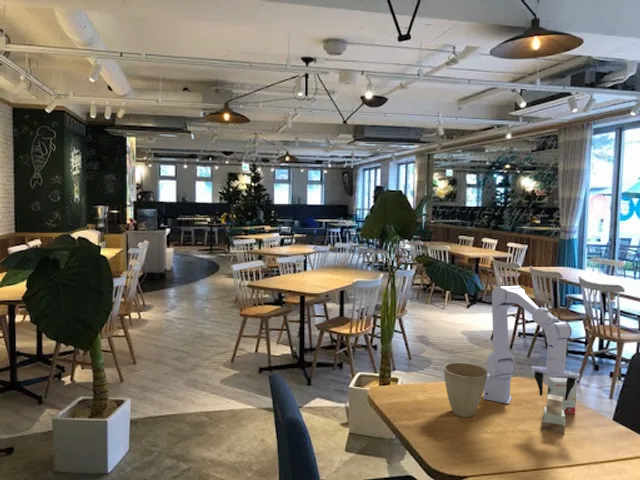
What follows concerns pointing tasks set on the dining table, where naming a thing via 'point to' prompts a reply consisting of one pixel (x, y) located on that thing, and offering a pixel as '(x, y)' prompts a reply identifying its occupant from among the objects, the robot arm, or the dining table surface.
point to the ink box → (563, 393)
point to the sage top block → (554, 418)
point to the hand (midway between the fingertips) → (553, 397)
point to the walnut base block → (552, 426)
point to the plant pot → (464, 387)
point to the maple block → (554, 405)
